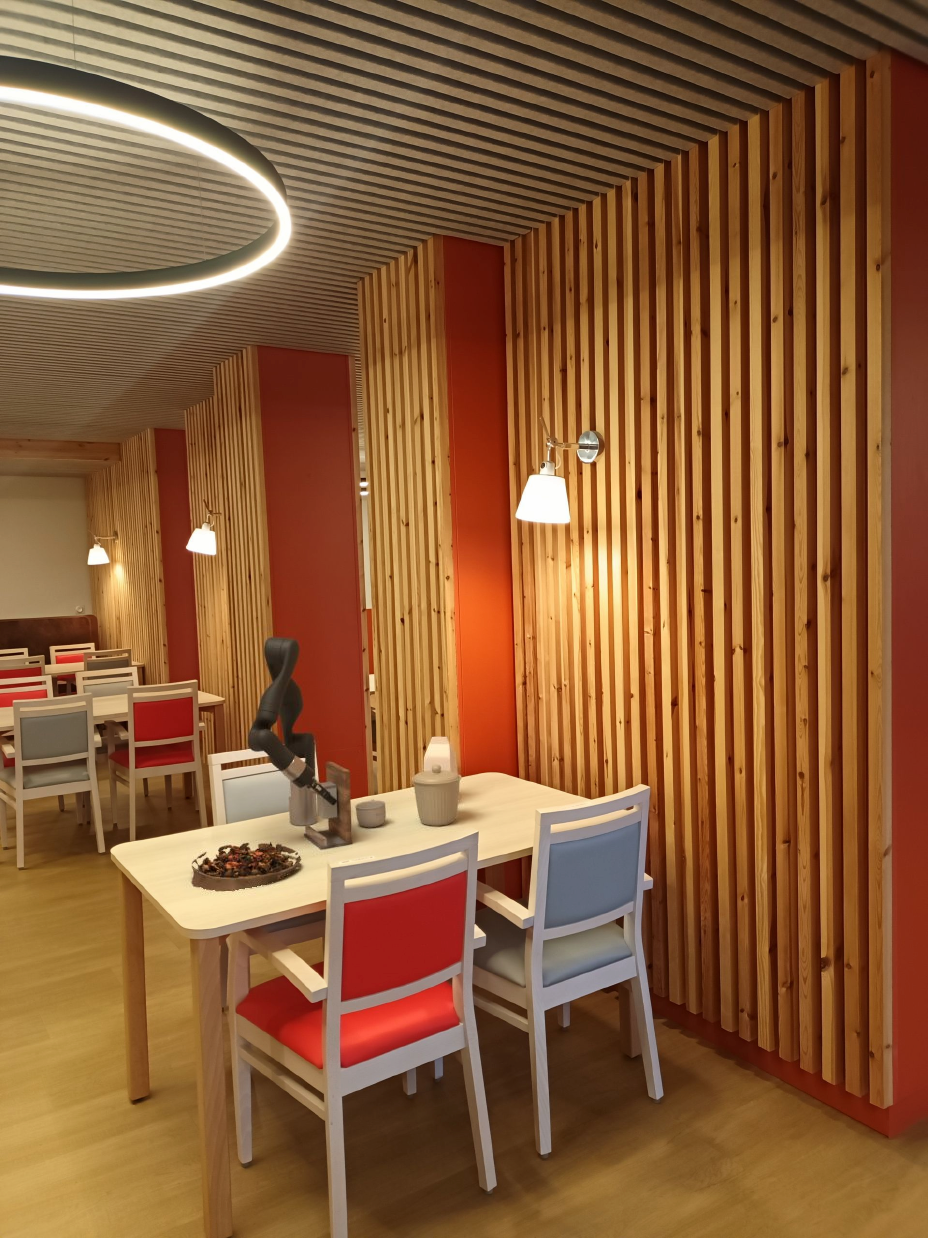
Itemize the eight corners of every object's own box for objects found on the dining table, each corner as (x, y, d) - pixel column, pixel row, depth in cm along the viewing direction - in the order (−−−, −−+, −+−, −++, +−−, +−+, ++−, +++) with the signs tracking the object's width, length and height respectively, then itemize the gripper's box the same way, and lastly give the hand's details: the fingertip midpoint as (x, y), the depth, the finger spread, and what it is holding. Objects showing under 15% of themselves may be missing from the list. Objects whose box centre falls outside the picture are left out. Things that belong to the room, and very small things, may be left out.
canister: (470, 825, 325) (468, 767, 323) (421, 831, 318) (419, 772, 317) (453, 813, 342) (451, 757, 340) (407, 819, 335) (405, 762, 334)
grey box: (323, 819, 307) (322, 786, 307) (317, 815, 312) (316, 783, 312) (337, 817, 309) (336, 785, 309) (331, 813, 315) (330, 781, 314)
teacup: (381, 830, 322) (380, 807, 322) (352, 829, 324) (351, 807, 324) (392, 819, 336) (391, 798, 335) (364, 818, 338) (363, 797, 338)
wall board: (320, 849, 301) (318, 775, 300) (304, 836, 317) (301, 765, 316) (352, 844, 306) (349, 770, 305) (334, 831, 322) (331, 761, 321)
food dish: (245, 852, 305) (245, 829, 304) (323, 868, 288) (323, 844, 288) (162, 881, 274) (162, 856, 274) (243, 901, 258) (243, 873, 257)
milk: (423, 805, 354) (420, 739, 353) (430, 798, 365) (428, 734, 364) (453, 806, 351) (450, 740, 350) (459, 799, 362) (457, 734, 361)
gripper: (311, 766, 300) (346, 796, 306) (297, 759, 313) (331, 788, 319) (296, 784, 298) (331, 814, 304) (283, 776, 311) (317, 805, 317)
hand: (331, 801), depth 312 cm, fingers closed on grey box, 6 cm apart
